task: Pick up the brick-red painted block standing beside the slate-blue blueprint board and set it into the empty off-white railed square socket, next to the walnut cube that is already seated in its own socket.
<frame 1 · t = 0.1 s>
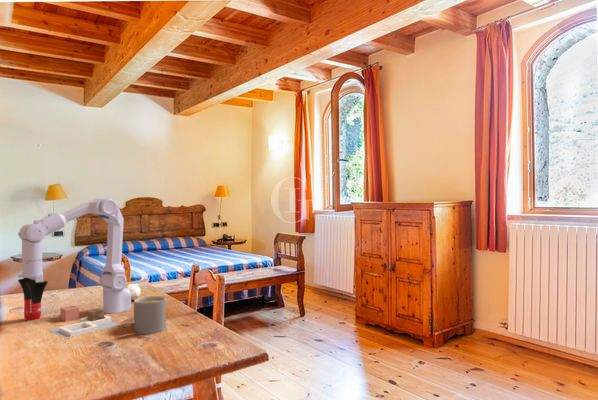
hand: (32, 301, 138), 10 cm above the table, fingers open, 7 cm apart
beverage can: (32, 319, 152), on the table
walnut cube: (95, 321, 145), point 1 cm above the table, touching blueprint board
ornament: (132, 301, 179), on the table
brick-red block: (69, 321, 149), on the table
blueprint board: (85, 329, 139), on the table
coffee mug: (148, 328, 141), on the table
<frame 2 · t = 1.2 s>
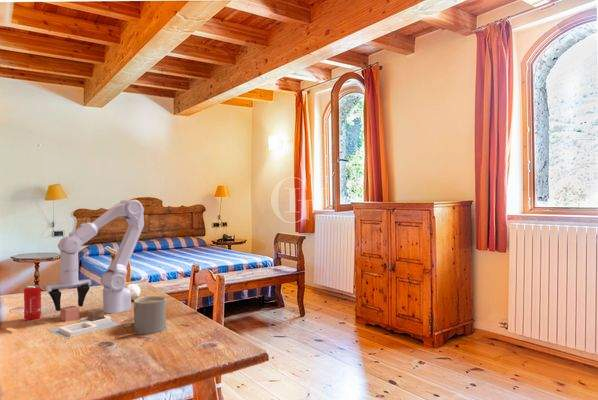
hand: (69, 308, 149), 5 cm above the table, fingers open, 7 cm apart
nothing on the table moved.
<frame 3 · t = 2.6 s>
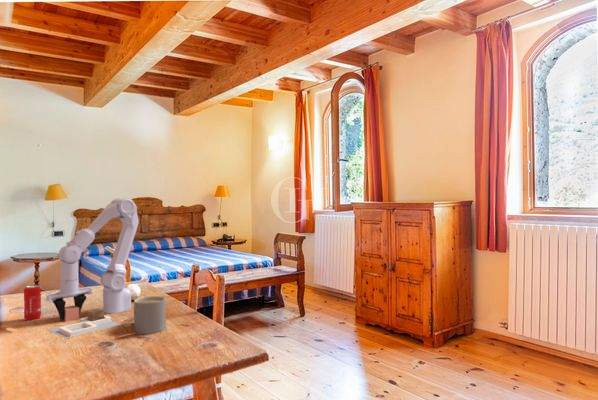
hand: (69, 317, 149), 1 cm above the table, fingers closed on brick-red block, 4 cm apart
brick-red block: (69, 321, 149), on the table, touching gripper
everything else where it was.
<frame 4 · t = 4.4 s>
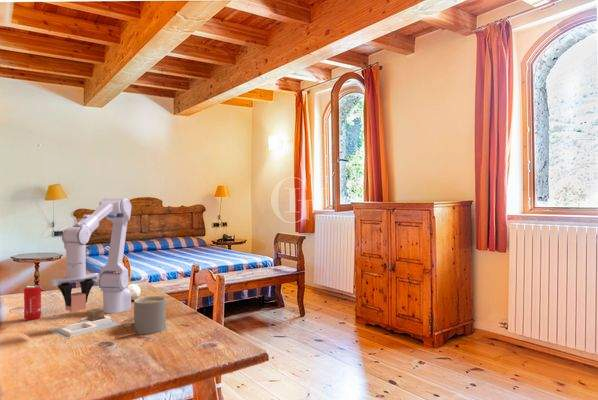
hand: (76, 304, 138), 9 cm above the table, fingers closed on brick-red block, 4 cm apart
brick-red block: (75, 309, 138), point 7 cm above the table, touching gripper
everything else where it was.
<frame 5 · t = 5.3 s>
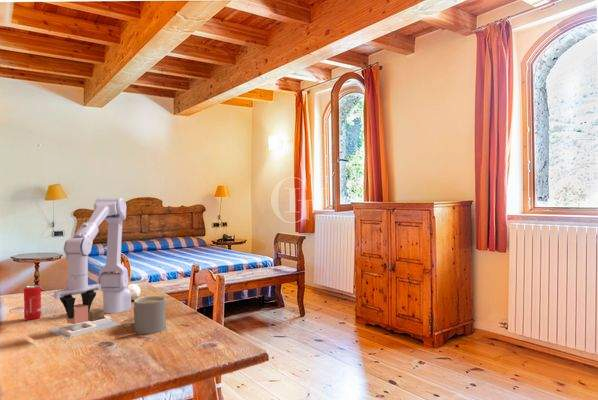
hand: (78, 316, 136), 6 cm above the table, fingers closed on brick-red block, 4 cm apart
brick-red block: (77, 321, 136), point 4 cm above the table, touching gripper
everything else where it was.
when the fingers open (4 cm above the table, at t = 6.1 s): brick-red block drops 1 cm, resting on blueprint board.
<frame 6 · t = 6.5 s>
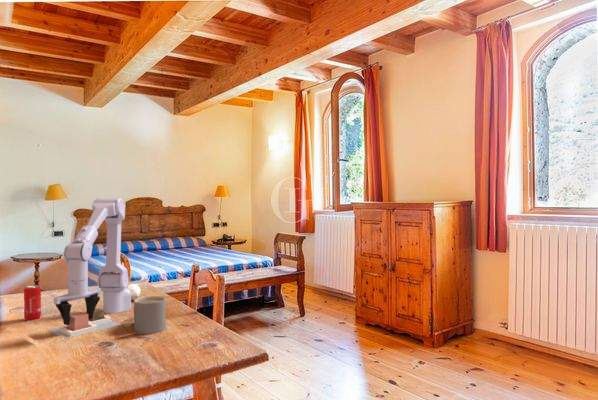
hand: (78, 321, 136), 4 cm above the table, fingers open, 7 cm apart
brick-red block: (77, 330, 136), point 1 cm above the table, touching blueprint board
everything else where it was.
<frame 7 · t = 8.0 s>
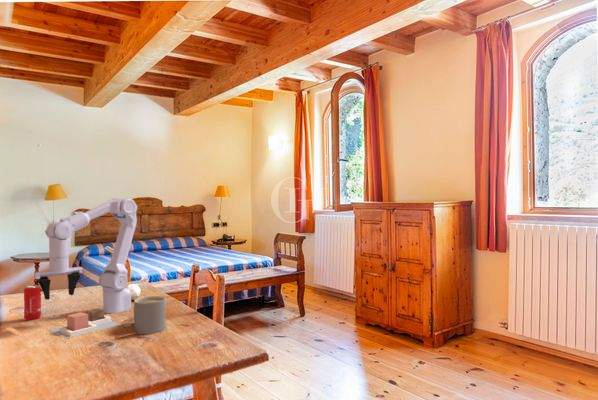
hand: (59, 296, 142), 10 cm above the table, fingers open, 7 cm apart
nothing on the table moved.
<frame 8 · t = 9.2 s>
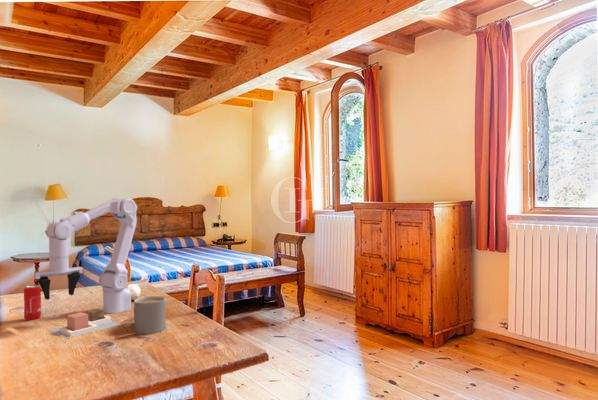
hand: (59, 296, 142), 10 cm above the table, fingers open, 7 cm apart
nothing on the table moved.
at the end: brick-red block 0.4 cm from the target spot on the blueprint board, point 1.0 cm above the blueprint board's base; brick-red block tilted 0°; walnut cube moved 0.0 cm from its start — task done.
